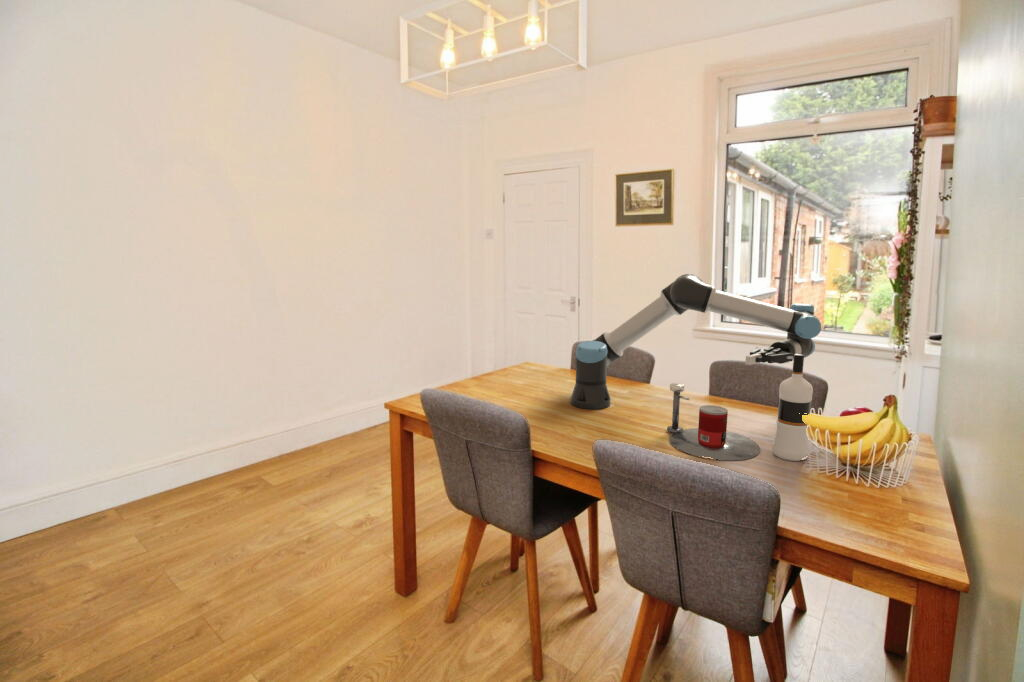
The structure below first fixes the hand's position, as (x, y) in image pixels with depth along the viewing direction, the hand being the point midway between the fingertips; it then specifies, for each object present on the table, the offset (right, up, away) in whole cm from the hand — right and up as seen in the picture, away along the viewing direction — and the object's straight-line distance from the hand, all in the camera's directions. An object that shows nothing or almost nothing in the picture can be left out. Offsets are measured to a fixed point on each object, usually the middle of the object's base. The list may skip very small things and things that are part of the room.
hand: (747, 360), depth 168 cm
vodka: (+5, -27, -15) cm, 31 cm away
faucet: (-21, -23, +6) cm, 32 cm away
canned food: (-14, -25, -6) cm, 29 cm away
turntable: (-13, -25, -5) cm, 29 cm away
